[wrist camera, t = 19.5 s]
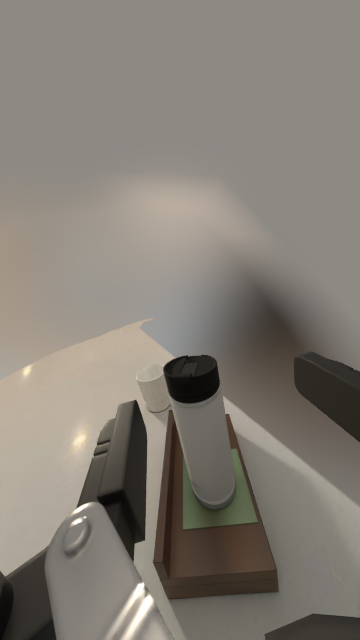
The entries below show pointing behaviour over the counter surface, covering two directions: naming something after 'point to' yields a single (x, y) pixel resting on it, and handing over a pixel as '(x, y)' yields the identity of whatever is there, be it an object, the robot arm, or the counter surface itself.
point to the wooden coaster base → (209, 533)
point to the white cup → (153, 387)
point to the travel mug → (202, 427)
